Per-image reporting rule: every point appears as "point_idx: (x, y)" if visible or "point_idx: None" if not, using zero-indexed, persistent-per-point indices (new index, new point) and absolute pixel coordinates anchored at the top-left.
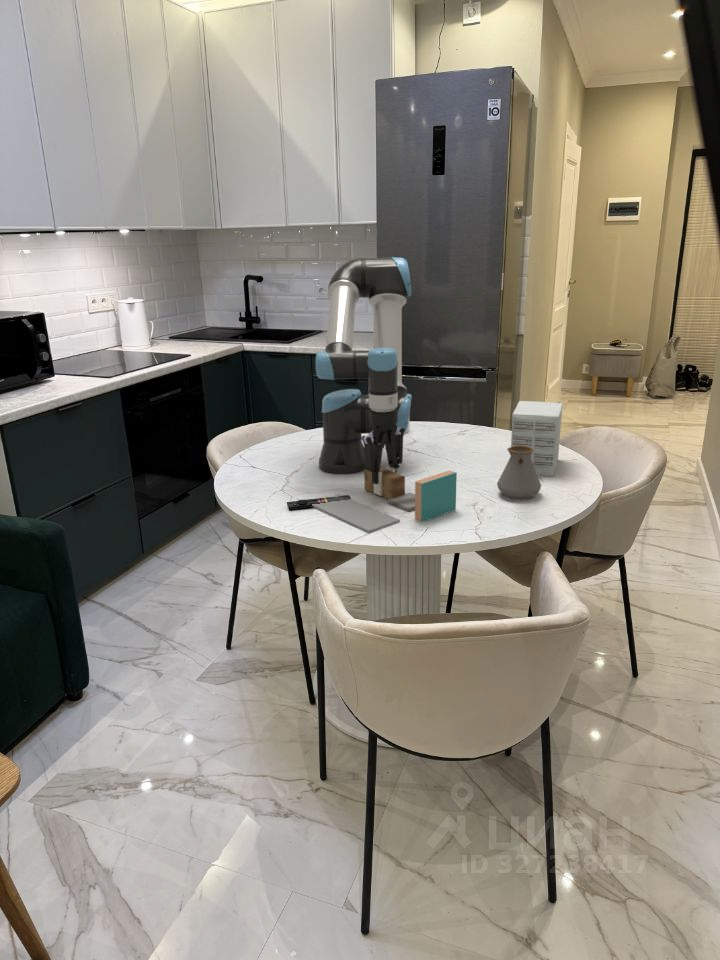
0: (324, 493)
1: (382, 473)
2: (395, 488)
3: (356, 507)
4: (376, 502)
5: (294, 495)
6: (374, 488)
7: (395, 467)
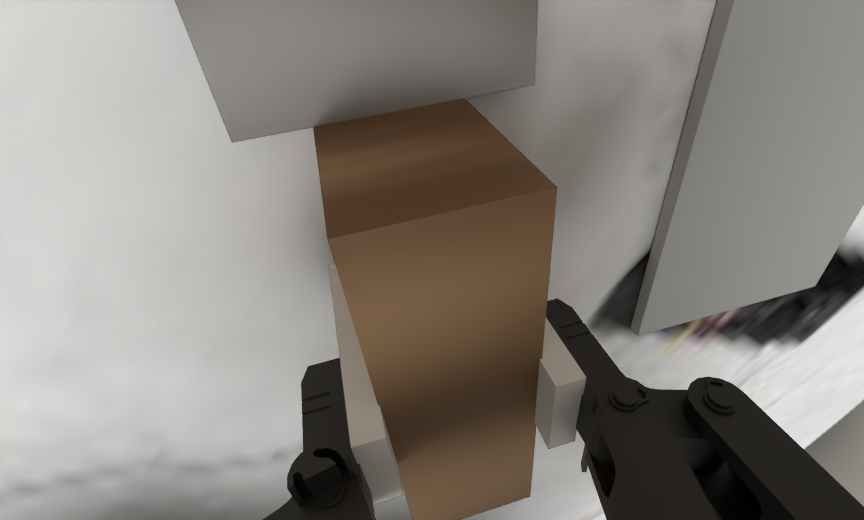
0: (640, 377)
1: (499, 395)
2: (472, 137)
3: (773, 104)
4: (566, 150)
5: None
6: None
7: (344, 459)
